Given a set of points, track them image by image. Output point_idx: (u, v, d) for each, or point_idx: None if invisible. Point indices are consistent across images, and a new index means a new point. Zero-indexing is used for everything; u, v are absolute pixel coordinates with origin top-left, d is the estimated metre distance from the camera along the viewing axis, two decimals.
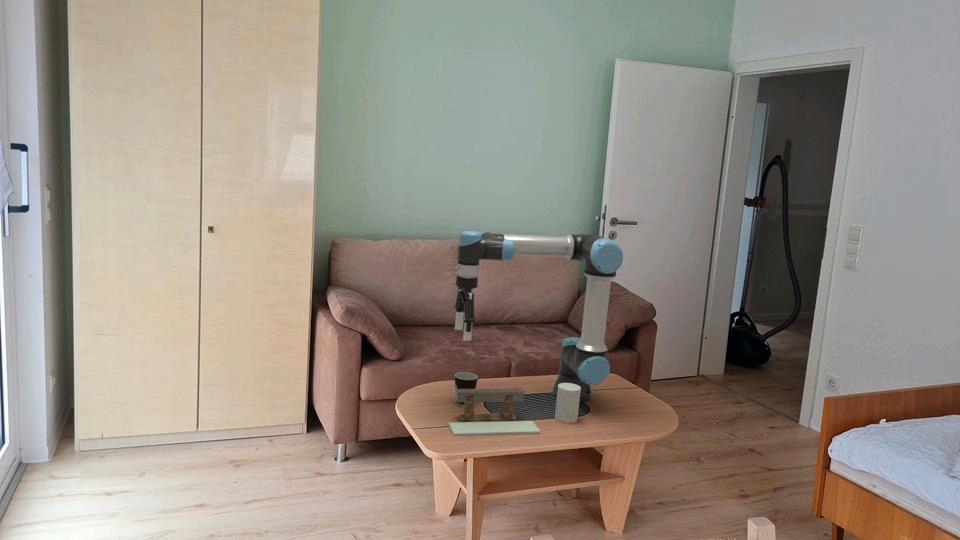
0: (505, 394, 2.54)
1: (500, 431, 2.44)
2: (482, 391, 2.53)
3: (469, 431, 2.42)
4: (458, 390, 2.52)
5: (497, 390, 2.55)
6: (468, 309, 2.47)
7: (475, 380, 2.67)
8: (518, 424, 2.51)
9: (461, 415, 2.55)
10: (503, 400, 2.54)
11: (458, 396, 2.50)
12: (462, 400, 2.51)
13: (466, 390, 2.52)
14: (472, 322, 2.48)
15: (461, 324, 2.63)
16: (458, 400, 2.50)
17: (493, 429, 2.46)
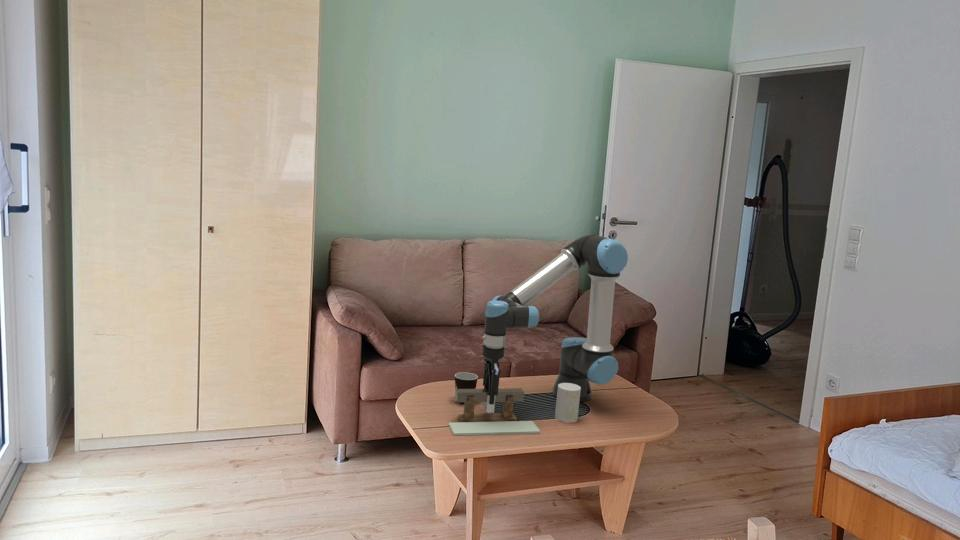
0: (505, 394, 2.54)
1: (500, 431, 2.44)
2: (482, 391, 2.53)
3: (469, 431, 2.42)
4: (458, 390, 2.52)
5: None
6: (493, 384, 2.48)
7: (475, 380, 2.67)
8: (518, 424, 2.51)
9: (461, 415, 2.55)
10: (503, 400, 2.54)
11: (458, 396, 2.50)
12: (462, 400, 2.51)
13: (466, 390, 2.52)
14: None
15: None
16: (458, 400, 2.50)
17: (493, 429, 2.46)
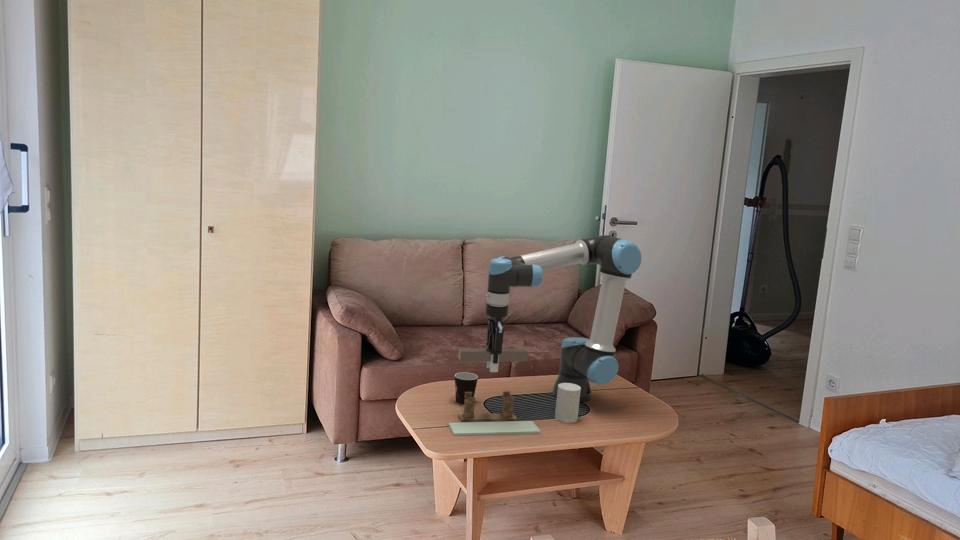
0: (509, 353, 2.51)
1: (500, 431, 2.44)
2: (486, 350, 2.50)
3: (469, 431, 2.42)
4: (461, 349, 2.49)
5: None
6: (496, 343, 2.45)
7: (475, 380, 2.67)
8: (518, 424, 2.51)
9: (461, 415, 2.55)
10: (507, 360, 2.52)
11: (461, 355, 2.47)
12: (465, 359, 2.48)
13: (470, 350, 2.49)
14: None
15: None
16: (461, 359, 2.48)
17: (493, 429, 2.46)
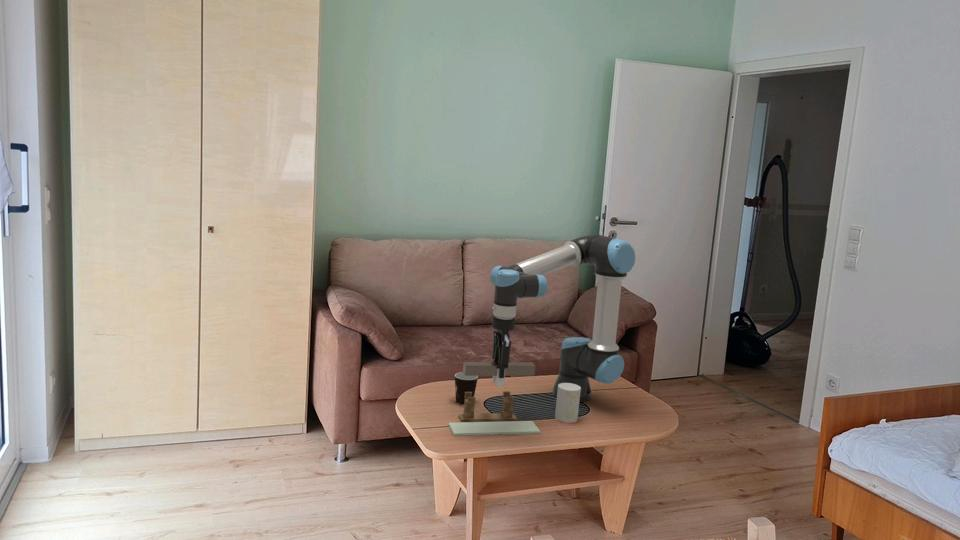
0: (515, 367, 2.43)
1: (500, 431, 2.44)
2: (491, 364, 2.42)
3: (469, 431, 2.42)
4: (466, 363, 2.41)
5: None
6: (503, 357, 2.37)
7: (475, 380, 2.67)
8: (518, 424, 2.51)
9: (461, 415, 2.55)
10: (513, 374, 2.43)
11: (466, 369, 2.39)
12: (471, 373, 2.40)
13: (475, 364, 2.41)
14: (505, 368, 2.41)
15: None
16: (466, 373, 2.39)
17: (493, 429, 2.46)
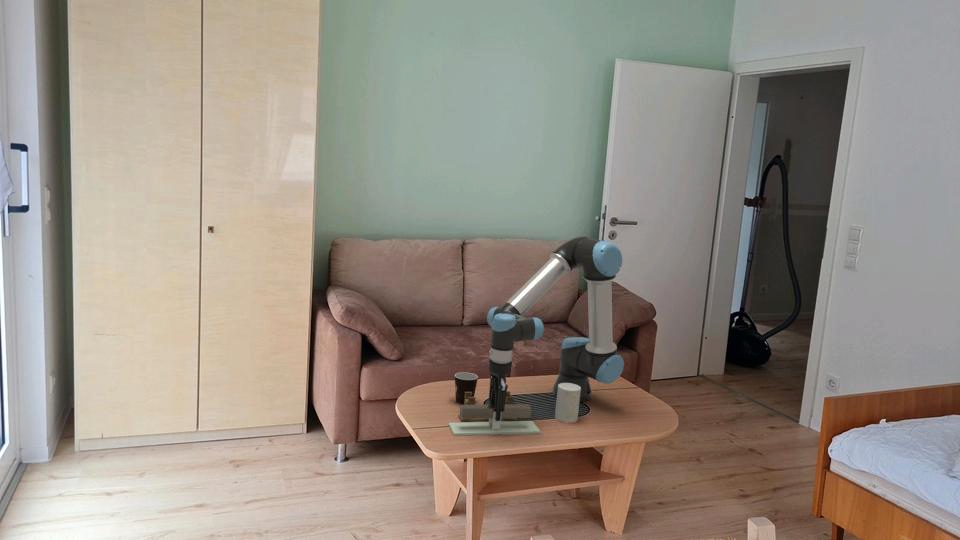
0: (511, 410, 2.46)
1: (500, 431, 2.44)
2: (488, 407, 2.44)
3: (469, 431, 2.42)
4: (463, 406, 2.43)
5: None
6: (499, 400, 2.40)
7: (475, 380, 2.67)
8: (518, 424, 2.51)
9: None
10: (509, 416, 2.46)
11: (463, 412, 2.42)
12: (467, 416, 2.42)
13: (472, 406, 2.44)
14: (501, 411, 2.43)
15: None
16: (463, 416, 2.42)
17: (493, 429, 2.46)
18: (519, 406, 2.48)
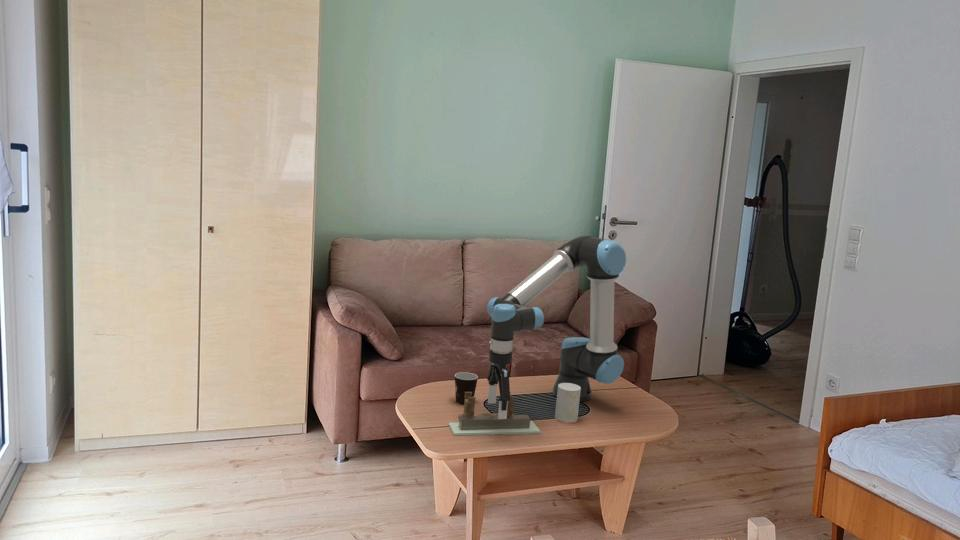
0: (510, 421, 2.46)
1: (500, 431, 2.44)
2: (487, 418, 2.45)
3: (469, 431, 2.42)
4: (462, 417, 2.44)
5: None
6: (503, 388, 2.36)
7: (475, 380, 2.67)
8: None
9: (461, 415, 2.55)
10: (508, 427, 2.47)
11: (462, 424, 2.42)
12: (466, 428, 2.43)
13: (471, 418, 2.44)
14: (507, 400, 2.38)
15: (494, 397, 2.53)
16: (462, 428, 2.43)
17: (493, 429, 2.46)
18: (518, 417, 2.48)
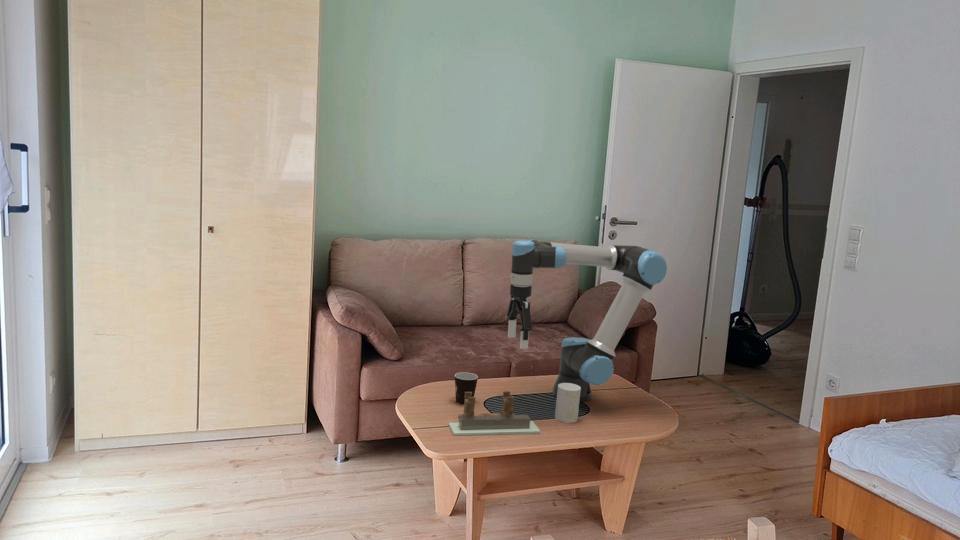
0: (510, 421, 2.46)
1: (500, 431, 2.44)
2: (487, 418, 2.45)
3: (469, 431, 2.42)
4: (462, 417, 2.44)
5: (502, 417, 2.47)
6: (525, 318, 2.50)
7: (475, 380, 2.67)
8: None
9: (461, 415, 2.55)
10: (508, 427, 2.47)
11: (462, 424, 2.42)
12: (466, 428, 2.43)
13: (471, 418, 2.44)
14: (529, 330, 2.52)
15: (514, 332, 2.66)
16: (462, 428, 2.43)
17: (493, 429, 2.46)
18: (518, 417, 2.48)
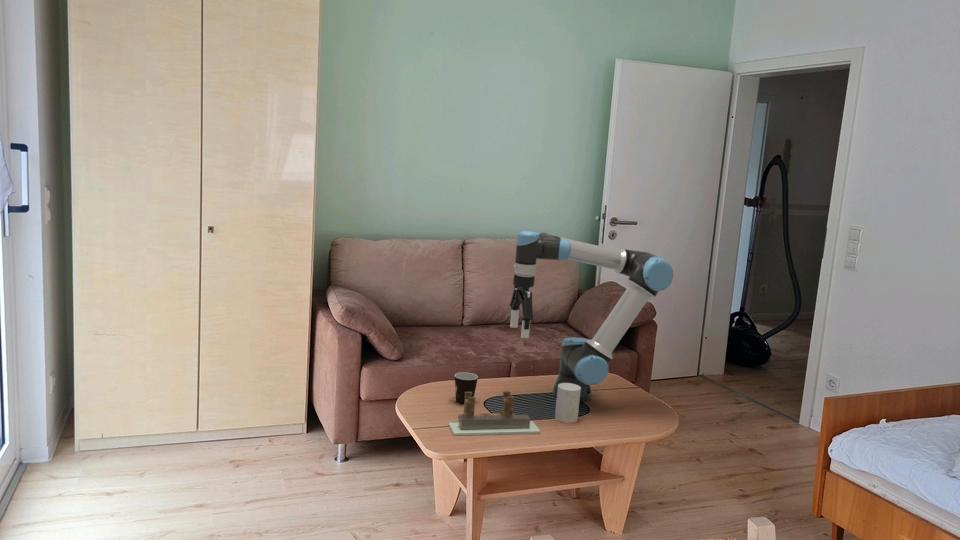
0: (510, 421, 2.46)
1: (500, 431, 2.44)
2: (487, 418, 2.45)
3: (469, 431, 2.42)
4: (462, 417, 2.44)
5: (502, 417, 2.47)
6: (526, 307, 2.53)
7: (475, 380, 2.67)
8: None
9: (461, 415, 2.55)
10: (508, 427, 2.47)
11: (462, 424, 2.42)
12: (466, 428, 2.43)
13: (471, 418, 2.44)
14: None
15: (516, 322, 2.69)
16: (462, 428, 2.43)
17: (493, 429, 2.46)
18: (518, 417, 2.48)
